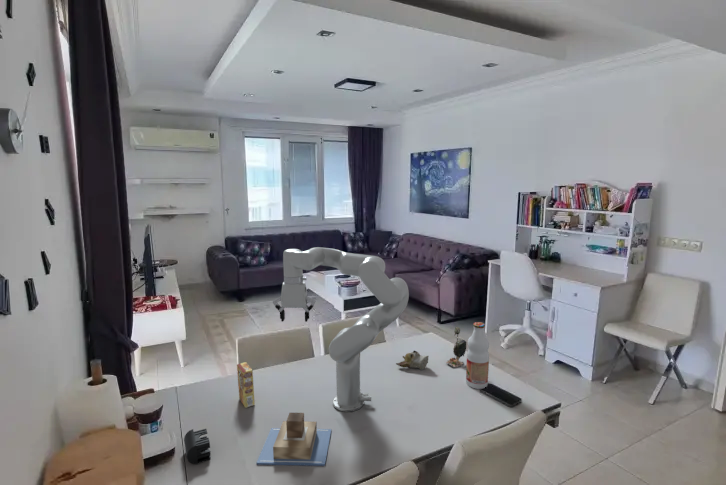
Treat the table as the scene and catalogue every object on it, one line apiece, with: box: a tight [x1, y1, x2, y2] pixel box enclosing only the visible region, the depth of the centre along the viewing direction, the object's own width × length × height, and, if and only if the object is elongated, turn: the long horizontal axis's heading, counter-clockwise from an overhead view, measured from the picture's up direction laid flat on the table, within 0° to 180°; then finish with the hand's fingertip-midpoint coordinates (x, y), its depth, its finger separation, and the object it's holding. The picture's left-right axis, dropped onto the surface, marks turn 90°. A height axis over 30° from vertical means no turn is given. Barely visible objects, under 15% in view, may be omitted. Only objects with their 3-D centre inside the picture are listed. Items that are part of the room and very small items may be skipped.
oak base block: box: [273, 420, 318, 459], centre depth 136 cm, size 12×14×5 cm
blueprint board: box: [256, 427, 332, 467], centre depth 136 cm, size 22×18×1 cm
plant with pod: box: [445, 326, 468, 368], centre depth 195 cm, size 8×11×20 cm
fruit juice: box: [465, 321, 490, 390], centre depth 175 cm, size 9×9×28 cm
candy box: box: [236, 361, 256, 409], centre depth 162 cm, size 9×4×15 cm, turn 33°
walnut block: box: [285, 412, 305, 438], centre depth 135 cm, size 5×5×6 cm
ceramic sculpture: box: [395, 350, 429, 371], centre depth 193 cm, size 11×9×15 cm
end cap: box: [183, 428, 212, 465], centre depth 132 cm, size 10×7×7 cm
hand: (294, 320), depth 163 cm, fingers open, 9 cm apart
